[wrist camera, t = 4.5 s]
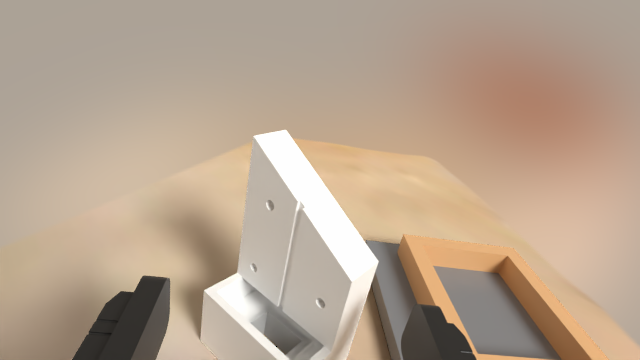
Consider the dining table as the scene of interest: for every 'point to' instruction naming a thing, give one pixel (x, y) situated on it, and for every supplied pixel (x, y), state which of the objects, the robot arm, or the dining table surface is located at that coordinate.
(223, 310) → the white angled block
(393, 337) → the plate
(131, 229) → the dining table surface
